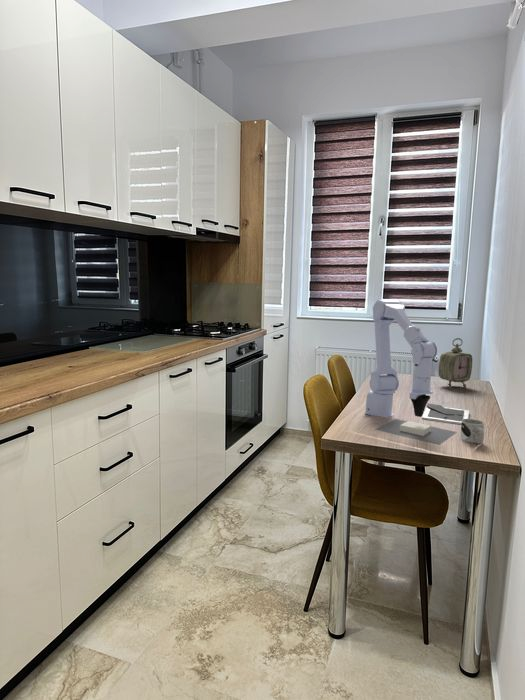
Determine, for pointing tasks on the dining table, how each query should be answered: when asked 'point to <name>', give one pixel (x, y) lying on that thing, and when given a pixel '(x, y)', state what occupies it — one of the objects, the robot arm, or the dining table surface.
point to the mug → (472, 431)
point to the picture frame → (445, 414)
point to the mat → (433, 436)
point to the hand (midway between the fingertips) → (418, 416)
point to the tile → (415, 428)
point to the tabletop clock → (455, 365)
